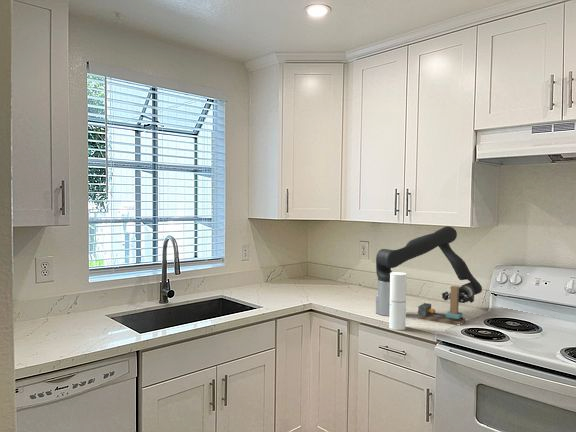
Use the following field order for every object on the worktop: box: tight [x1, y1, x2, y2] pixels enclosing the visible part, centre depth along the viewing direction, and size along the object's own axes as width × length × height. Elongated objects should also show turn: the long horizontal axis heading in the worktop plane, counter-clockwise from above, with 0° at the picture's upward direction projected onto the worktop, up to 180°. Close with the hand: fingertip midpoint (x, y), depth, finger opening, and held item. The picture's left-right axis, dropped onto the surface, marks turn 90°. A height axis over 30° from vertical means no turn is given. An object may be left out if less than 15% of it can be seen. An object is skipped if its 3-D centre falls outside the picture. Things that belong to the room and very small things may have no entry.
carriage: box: [445, 285, 464, 319], centre depth 205 cm, size 6×7×14 cm
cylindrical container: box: [388, 271, 407, 331], centre depth 195 cm, size 7×7×25 cm
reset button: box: [427, 308, 436, 314], centre depth 212 cm, size 3×2×2 cm
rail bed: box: [417, 302, 466, 326], centre depth 209 cm, size 20×9×6 cm, turn 53°
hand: (454, 299), depth 205 cm, fingers open, 8 cm apart
